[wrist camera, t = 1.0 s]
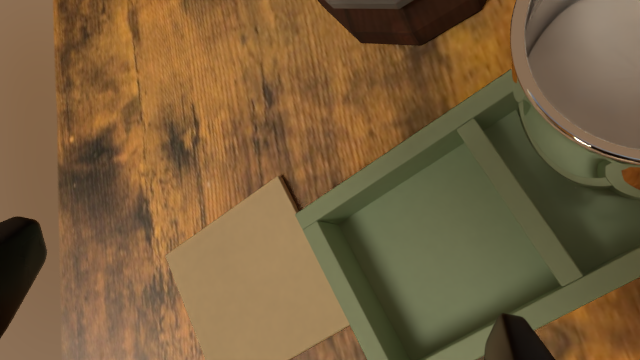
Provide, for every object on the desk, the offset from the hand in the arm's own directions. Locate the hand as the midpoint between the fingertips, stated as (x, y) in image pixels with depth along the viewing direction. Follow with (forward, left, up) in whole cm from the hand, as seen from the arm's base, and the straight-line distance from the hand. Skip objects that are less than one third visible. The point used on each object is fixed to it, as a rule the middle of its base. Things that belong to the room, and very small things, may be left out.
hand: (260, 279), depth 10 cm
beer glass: (+1, -10, -19) cm, 21 cm away
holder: (+1, -5, -19) cm, 20 cm away
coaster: (+5, +11, -19) cm, 23 cm away
